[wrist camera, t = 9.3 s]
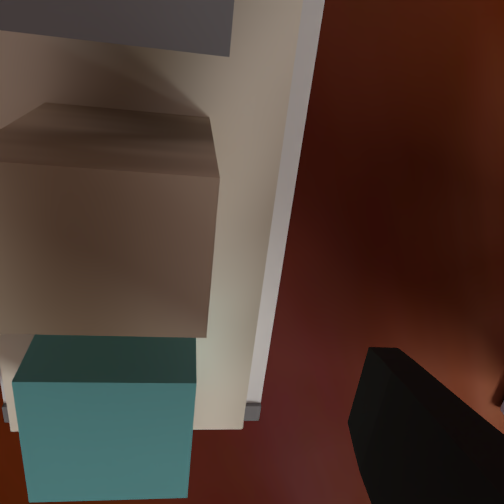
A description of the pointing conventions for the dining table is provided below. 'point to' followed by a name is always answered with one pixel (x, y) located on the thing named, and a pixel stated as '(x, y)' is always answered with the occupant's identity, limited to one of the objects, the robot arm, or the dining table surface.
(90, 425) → the block
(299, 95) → the dock
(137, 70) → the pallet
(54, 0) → the grey cube
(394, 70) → the dining table surface
